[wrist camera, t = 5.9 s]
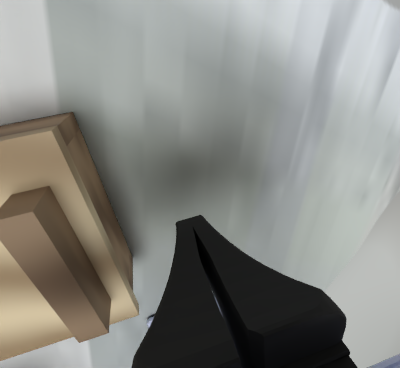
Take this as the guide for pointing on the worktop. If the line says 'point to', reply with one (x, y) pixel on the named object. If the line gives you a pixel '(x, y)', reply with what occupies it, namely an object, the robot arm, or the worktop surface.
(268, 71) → the worktop surface
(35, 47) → the worktop surface
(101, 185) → the tea box
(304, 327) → the robot arm
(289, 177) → the worktop surface
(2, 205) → the lid
